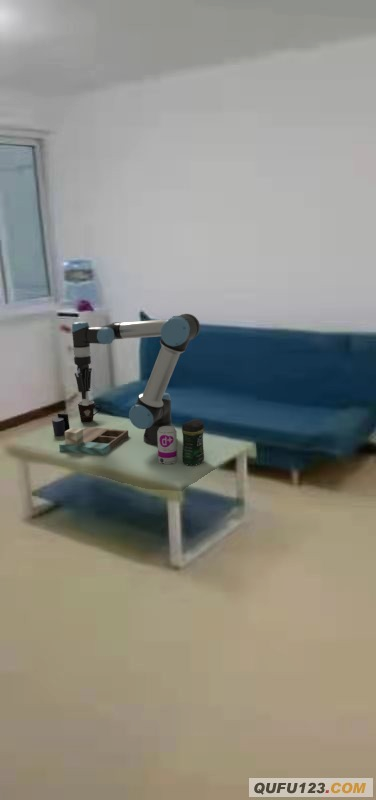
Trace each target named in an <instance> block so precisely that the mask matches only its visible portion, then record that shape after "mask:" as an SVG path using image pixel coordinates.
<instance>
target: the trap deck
mask: <svg viewBox="0 0 376 800" xmlns="http://www.w3.org/2000/svg"><path fill="white" fill-rule="evenodd" d="M82 429H83V442H82V443H80V444H79V445H67V444H65V440H63V442H61V443H59V445H58V446H59V452H66V453H67V452H68V453H78V454H79V453H80V454H86V455H96V456H97V455H99V456H105V455H106V454H107V453H108V452H110V451H111V450H113V449H114V448H115V447H116V446H118V445H119V444H121V443H122V442H123V441H124V440H126V439H127V438H128V437H129V430H128V429H125V430H124V429H117V428H116V429H114V428H103V427H91V426H86V427H85V428H82Z"/></svg>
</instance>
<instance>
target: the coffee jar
mask: <svg viewBox="0 0 376 800" xmlns="http://www.w3.org/2000/svg"><path fill="white" fill-rule="evenodd" d="M181 426H182V427H181V432H182V458H181V459H182V464H185V465H186V464H188V465H187V466H197V465H199V463H200V464H201V463H203V462H204V461H205V455H204V454H205V453H204V452H205V451H204V431H205V428H204V427H205V424H204V422H203V420H201V419H197V418H193V419H192V420H188V421H186V422H185V423H183V424H181ZM196 464H197V465H196Z"/></svg>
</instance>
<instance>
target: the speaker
mask: <svg viewBox="0 0 376 800" xmlns="http://www.w3.org/2000/svg"><path fill="white" fill-rule="evenodd" d="M69 419H70V418H69V414H68V413H59V412H58V413H57V416H55V417H53V418H51V423H52V428H53V429H52V430H53V434H54V436H56V437H61V436H65V431H67V430H68V429H70V428H71V427H70V422H69V421H70V420H69Z"/></svg>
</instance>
